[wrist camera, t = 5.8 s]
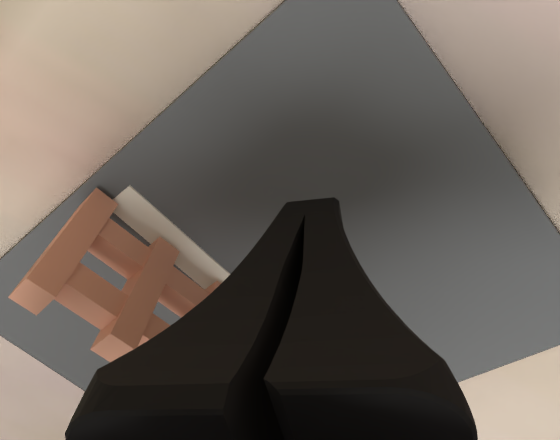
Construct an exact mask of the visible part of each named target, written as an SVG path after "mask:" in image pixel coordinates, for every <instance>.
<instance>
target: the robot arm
mask: <svg viewBox="0 0 560 440" xmlns="http://www.w3.org/2000/svg"><path fill="white" fill-rule="evenodd" d="M65 438H66V440H477V439H478V437H477V430H476V425H475V422H474V419H473V416H472V413H471V410H470V408H469V405H468V403H467V401H466V398H465V396H464V394H463V392H462V390H461V388H460V386H459V384H458V383H457V381H456V379H455V377H454V375H453V373H452V372H451V370H450V368H449V366H448V365H447V363H446V361H445V360H444V359H443V358H442V357H441V356H439V355H438V354H437V353H436V352H435V351H433V350H432V349H431V348H430V347H429V346H428V345H427V344H425V343H424V342H423V341H422V340H421V339H420V338H419V337H418V336H417V335H416V334H415V333H414V332H413V331H412V330H411V329H410V328H409V327H408V326H407V325H406V324H405V323H404V322H403V321H402V320H401V319H400V318H399V316H398V315H397V314H396V313H395V312H394V311H393V310H392V308H391V307H390V306H389V305H388V304H387V303H386V301H385V300H384V299H383V298H382V296H381V295H380V294H379V292H378V291H377V290H376V288H375V287H374V285H373V284H372V282H371V281H370V279H369V278H368V276H367V275H366V273H365V272H364V270H363V268H362V267H361V265H360V263H359V261H358V259H357V257H356V256H355V254H354V252H353V250H352V248H351V245H350V243H349V241H348V238H347V236H346V234H345V231H344V228H343V222H342V216H341V209H340V203H339V200H337V199H336V198H334V197H332V198H322V199H312V200H302V201H292V202H286V204H285V205H284V206H283V207H282V209H281V210H280V212H279V213H278V214H277V216H276V217H275V219H274V220H273V221H272V223H271V224H270V226H269V227H268V228H267V230H266V231H265V233H264V234H263V235H262V237H261V238H260V239H259V240H258V242H257V243H256V244H255V246H254V247H253V248H252V250H251V251H250V252H249V253H248V255H247V256H246V257H245V258H244V259H243V260H242V262H241V263H240V264H239V265H238V266H237V267H236V268H235V270H234V271H233V272H232V273H231V274H230V275H229V276H228V277H227V278H226V279H225V280H224V281H223V282H222V283H221V284H220V285H219V286H218V287H217V288H216V289H215V290H214V291H213V292H212V293H211V294H210V295H208V296H207V297H206V298H205V299H204V300H203V301H201V302H200V303H199V304H198V305H196V306H195V307H194V308H193V309H191V310H190V311H189V312H188V313H186V314H185V315H184V316H183V317H181V318H180V319H179V320H178V321H176V322H175V323H173V324H172V325H171V326H169V327H168V328H166V329H165V330H163V331H162V332H161V333H159V334H157V335H156V336H154V337H153V338H151V339H150V340H148V341H147V342H145V343H143V344H142V345H140V346H138V347H137V348H135V349H133V350H132V351H130V352H128V353H126V354H124V355H123V356H121V357H119V358H117V359H115V360H114V361H112V362H110V363H108V364H106V365H104V366H103V367H101V368H99V369H97V371H96V372H95V374H94V376H93V378H92V379H91V381H90V383H89V385H88V387H87V389H86V391H85V393H84V395H83V397H82V399H81V401H80V403H79V405H78V407H77V409H76V411H75V413H74V415H73V417H72V419H71V421H70V423H69V426H68V428H67V430H66V433H65Z"/></svg>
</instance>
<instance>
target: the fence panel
mask: <svg viewBox="0 0 560 440" xmlns="http://www.w3.org/2000/svg"><path fill="white" fill-rule="evenodd" d="M117 206H118V204H117V203H116V202H115V201H113V200H112V199H111V198H110V197H108V196H107V195H106V194H104V193H103V192H102V191H100V190H99V189H98V188H97V187H96V188H95V190H94V191H93V192H92V193H91V194H90V195H89V196H88V197H87V198H86V199H85V200H84V201H83V202H82V203H81V205H80V206H79V207H78V208H77V209H76V211H75V212H74V213H73V215H72V216H71V217H70V218H69V220H68V221H67V222H66V224H65V225H64V226H63V227H62V229H61V230H60V231H59V233H58V234H57V235H56V236H55V238H54V239H53V240H52V242H51V243H50V244H49V245H48V247H47V248H46V249H45V251H44V252H43V253H42V254H41V256H40V257H39V258H38V259H37V261H36V262H35V263H34V265H33V266H32V267H31V268H30V270H29V271H28V272H27V274H26V275H25V276H24V277H23V279H22V280H21V281H20V283H19V284H18V285H17V286H16V288H15V289H14V290H13V292H12V293H11V294H10V295H9V297H8V298H10V299H11V300H13V301H14V302H16V303H17V304H19V305H21V306H22V307H24V308H25V309H27V310H28V311H30V312H32V313H33V314H35V315H36V316H37V315H38V314H39V313H40V312H41V311H42V310H43V309H44V308H45V307H46V306H47V305H48V304H49V303H50V302H51V301H53V300H56V301H57V302H59V303H60V304H62V305H63V306H65V307H66V308H68V309H69V310H71V311H72V312H74V313H75V314H77V315H78V316H80V317H82V318H83V319H85V320H86V321H88V322H89V323H91V324H92V325H94V326H95V327H97V328H98V329H100V332H99V334H98V335H97V337H96V339H95V341H94V343H93V345H92V347H91V349H90V350H91V351H93V352H95V353H96V354H98V355H99V356H101V357H103V358H104V359H106V360H107V361H109V362H112V361H114V360H115V359H117V358H119V357H121V356H123V355H124V354H126V353H128V352H130V351H132V350H133V349H135V348H137V347H138V346H140V345H142V344H143V343H145V342H147V341H148V340H150V339H151V338H153V337H154V336H156V335H157V334H159V333H161V332H162V331H163V330H165V329H166V328H168V327H169V326H170V325H169V324H168V323H166V322H165V321H163V320H162V319H160V318H159V317H158V316H156V315H155V314H153V311H154V309H155V306H156V304H157V302H160V303H161V304H162V305H164V306H165V307H167V308H168V309H169V310H171V311H172V312H174V313H175V314H177V315H178V316H179V317H183V316H184V315H185V314H186V313H188V312H189V311H190V310H191V309H193V308H194V307H195V306H196V305H198V304H199V303H200V302H201V301H203V300H204V299H205V298H206V297H207V296H208V295H210V294H211V293H212V292H213V291H214V290H215V289H216V288H217V287H218V286H219V285H220V284H221V283H220V282H219V281H216V282H214V283H213V284H212V285H210V286H209V287H208V288H206V289H205V290H204V289H203V288H202V287H200V286H199V285H198V284H196V283H195V282H194V281H192V280H191V279H190V278H189V277H187V276H186V275H185V274H183V273H182V272H181V271H179V270H178V269H177V268H175V267H174V263H175V261H176V259H177V256H178V254H179V252H180V251H178V250H177V249H176V248H174V247H173V246H172V245H171V244H169V243H168V242H167V241H165V240H164V239H163V238H161V237H159V238H157V239H156V240H155V241H154V242H153V243H152V244H151V245H149V246H148V247H147V246H146V245H145V244H143V243H142V242H141V241H139V240H138V239H137V238H135V237H134V236H133V235H131V234H130V233H129V232H127V231H126V230H125V229H123V228H122V227H121V226H119V225H118V224H117V223H115V222H114V221H113V220H112V219H110V216H111V215H112V213H113V212H114V210H115V209H116V207H117ZM87 251H88V252H90V253H91V254H92V255H94V256H95V257H97V258H98V259H99V260H101V261H102V262H104V263H105V264H106V265H108V266H109V267H111V268H112V269H113V270H115V271H116V272H118V273H119V274H120V275H122V276H123V277H125V278H126V279H127V281H126V283H125V285H124V287H123V289H122V290H121V291H120V290H119V289H118V288H116V287H115V286H113V285H112V284H110V283H109V282H108V281H106V280H105V279H103V278H102V277H100V276H99V275H98V274H96V273H95V272H93V271H92V270H90V269H89V268H88V267H86V266H85V265H83V264H82V263H80V261H81V259H82V258H83V256H84V255H85V253H86V252H87Z"/></svg>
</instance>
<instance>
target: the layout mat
mask: <svg viewBox="0 0 560 440" xmlns="http://www.w3.org/2000/svg"><path fill="white" fill-rule="evenodd" d="M96 187H97V188H98V189H99V190H100V191H102V192H103V193H104V194H106V195H107V196H108V197H110V198H111V199H112V200H113V201H115V202H116V203H117V204H118V206H117V207H116V209H115V210H114V212H113V213H112V215H111V216H110V219H112V220H113V221H114V222H115V223H117V224H118V225H119V226H121V227H122V228H123V229H125V230H126V231H127V232H129V233H130V234H131V235H133V236H134V237H135V238H137V239H138V240H139V241H141V242H142V243H143V244H145V245H146V246H147V247H148V246H149V245H151V244H152V243H153V242H154V241H155V240H156V239H157V238H159V237H161V238H163V239H164V240H165V241H167V242H168V243H169V244H171V245H172V246H173V247H174V248H176V249H177V250H178V251H180V252H179V254H178V256H177V259H176V261H175V263H174V267H175V268H177V269H178V270H179V271H181V272H182V273H183V274H185V275H186V276H187V277H189V278H190V279H191V280H192V281H194V282H195V283H196V284H198V285H199V286H200V287H202V288H203V289H204V290H205V289H206V288H208V287H209V286H210V285H212V284H213V283H214V282H216V281H219V282H220V283H222V282H223V281H224V280H225V279H226V278H227V277H228V276H229V275H230V274H231V273H232V272H233V271H234V270H235V268H236V267H237V266H238V265H239V264H240V263H241V262H242V260H243V259H244V258H245V257H246V256H247V255H248V253H249V252H250V251H251V250H252V248H253V247H254V246H255V244H256V243H257V242H258V240H259V239H260V238H261V237H262V235H263V234H264V233H265V231H266V230H267V228H268V227H269V226H270V224H271V223H272V221H273V220H274V219H275V217H276V216H277V214H278V213H279V212H280V210H281V209H282V207H283V206H284V205H285V204H286V202H292V201H302V200H312V199H322V198H332V197H334V198H336V199H337V200H339V203H340V209H341V216H342V222H343V228H344V231H345V234H346V236H347V238H348V241H349V243H350V245H351V248H352V250H353V252H354V254H355V256H356V257H357V259H358V261H359V263H360V265H361V267H362V268H363V270H364V272H365V273H366V275H367V276H368V278H369V279H370V281H371V282H372V284H373V285H374V287H375V288H376V290H377V291H378V292H379V294H380V295H381V296H382V298H383V299H384V300H385V301H386V303H387V304H388V305H389V306H390V307H391V308H392V310H393V311H394V312H395V313H396V314H397V315H398V316H399V318H400V319H401V320H402V321H403V322H404V323H405V324H406V325H407V326H408V327H409V328H410V329H411V330H412V331H413V332H414V333H415V334H416V335H417V336H418V337H419V338H420V339H421V340H422V341H423V342H424V343H425V344H427V345H428V346H429V347H430V348H431V349H432V350H433V351H435V352H436V353H437V354H438V355H439V356H441V357H442V358H443V359H444V360H445V361H446V363H447V365H448V366H449V368H450V370H451V372H452V373H453V375H454V377H455V379H456V381H457V383H458V382H460V381H463V380H466V379H469V378H471V377H474V376H477V375H479V374H482V373H485V372H488V371H490V370H493V369H496V368H499V367H501V366H504V365H507V364H509V363H512V362H515V361H518V360H520V359H523V358H526V357H528V356H531V355H534V354H537V353H539V352H542V351H545V350H548V349H550V348H553V347H556V346H558V345H560V233H559V232H558V230H557V229H556V228H555V226H554V225H553V223H552V222H551V220H550V219H549V218H548V216H547V215H546V213H545V212H544V210H543V209H542V207H541V206H540V205H539V203H538V202H537V200H536V199H535V197H534V196H533V195H532V193H531V192H530V190H529V189H528V187H527V186H526V184H525V183H524V182H523V180H522V179H521V177H520V176H519V174H518V173H517V172H516V170H515V169H514V167H513V166H512V164H511V163H510V162H509V160H508V159H507V157H506V156H505V154H504V153H503V151H502V150H501V149H500V147H499V146H498V144H497V143H496V141H495V140H494V139H493V137H492V136H491V134H490V133H489V131H488V130H487V129H486V127H485V126H484V124H483V123H482V121H481V120H480V118H479V117H478V116H477V114H476V113H475V111H474V110H473V108H472V107H471V106H470V104H469V103H468V101H467V100H466V98H465V97H464V95H463V94H462V93H461V91H460V90H459V88H458V87H457V85H456V84H455V83H454V81H453V80H452V78H451V77H450V75H449V74H448V73H447V71H446V70H445V68H444V67H443V65H442V64H441V62H440V61H439V60H438V58H437V57H436V55H435V54H434V52H433V51H432V50H431V48H430V47H429V45H428V44H427V42H426V41H425V40H424V38H423V37H422V35H421V34H420V32H419V31H418V29H417V28H416V27H415V25H414V24H413V22H412V21H411V19H410V18H409V17H408V15H407V14H406V12H405V11H404V9H403V8H402V6H401V5H400V4H399V2H398V1H397V0H285V1H284V2H282V3H281V4H280V5H279V6H278V7H277V8H276V9H275V10H274V11H273V12H271V13H270V14H269V15H268V16H267V17H266V18H265V19H264V20H263V21H262V22H260V23H259V24H258V25H257V26H256V27H255V28H254V29H253V30H252V31H251V32H249V33H248V34H247V35H246V36H245V37H244V38H243V39H242V40H241V41H240V42H238V43H237V44H236V45H235V46H234V47H233V48H232V49H231V50H230V51H229V52H227V53H226V54H225V55H224V56H223V57H222V58H221V59H220V60H219V61H218V62H216V63H215V64H214V65H213V66H212V67H211V68H210V69H209V70H208V71H207V72H205V73H204V74H203V75H202V76H201V77H200V78H199V79H198V80H197V81H196V82H194V83H193V84H192V85H191V86H190V87H189V88H188V89H187V90H186V91H185V92H183V93H182V94H181V95H180V96H179V97H178V98H177V99H176V100H175V101H174V102H172V103H171V104H170V105H169V106H168V107H167V108H166V109H165V110H164V111H163V112H161V113H160V114H159V115H158V116H157V117H156V118H155V119H154V120H153V121H152V122H150V123H149V124H148V125H147V126H146V127H145V128H144V129H143V130H142V131H141V132H139V133H138V134H137V135H136V136H135V137H134V138H133V139H132V140H131V141H130V142H128V143H127V144H126V145H125V146H124V147H123V148H122V149H121V150H120V151H119V152H117V153H116V154H115V155H114V156H113V157H112V158H111V159H110V160H109V161H108V162H106V163H105V164H104V165H103V166H102V167H101V168H100V169H99V170H98V171H97V172H95V173H94V174H93V175H92V176H91V177H90V178H89V179H88V180H87V181H86V182H84V183H83V184H82V185H81V186H80V187H79V188H78V189H77V190H76V191H75V192H73V193H72V194H71V195H70V196H69V197H68V198H67V199H66V200H65V201H64V202H62V203H61V204H60V205H59V206H58V207H57V208H56V209H55V210H54V211H53V212H51V213H50V214H49V215H48V216H47V217H46V218H45V219H44V220H43V221H42V222H40V223H39V224H38V225H37V226H36V227H35V228H34V229H33V230H32V231H31V232H29V233H28V234H27V235H26V236H25V237H24V238H23V239H22V240H21V241H20V242H18V243H17V244H16V245H15V246H14V247H13V248H12V249H11V250H10V251H9V252H7V253H6V254H5V255H4V256H3V257H2V258H1V259H0V336H2V337H3V338H5V339H6V340H8V341H9V342H11V343H12V344H14V345H15V346H17V347H19V348H20V349H22V350H23V351H25V352H26V353H28V354H29V355H31V356H32V357H34V358H35V359H37V360H38V361H40V362H41V363H43V364H44V365H46V366H47V367H49V368H50V369H52V370H54V371H55V372H57V373H58V374H60V375H61V376H63V377H64V378H66V379H67V380H69V381H70V382H72V383H73V384H75V385H76V386H78V387H79V388H81V389H82V390H84V391H86V389H87V387H88V385H89V383H90V381H91V379H92V378H93V376H94V374H95V372H96V371H97V369H99V368H101V367H103V366H104V365H106V364H108V363H110V362H109V361H107V360H106V359H104V358H103V357H101V356H99V355H98V354H96V353H95V352H93V351H91V350H90V349H91V347H92V345H93V343H94V341H95V339H96V337H97V335H98V334H99V332H100V329H98V328H97V327H95V326H94V325H92V324H91V323H89V322H88V321H86V320H85V319H83V318H82V317H80V316H78V315H77V314H75V313H74V312H72V311H71V310H69V309H68V308H66V307H65V306H63V305H62V304H60V303H59V302H57V301H56V300H53V301H51V302H50V303H49V304H48V305H47V306H46V307H45V308H44V309H43V310H42V311H41V312H40V313H39V314H38V315H37V316H36V315H35V314H33V313H32V312H30V311H28V310H27V309H25V308H24V307H22V306H21V305H19V304H17V303H16V302H14V301H13V300H11V299H10V298H8V297H9V295H10V294H11V293H12V292H13V290H14V289H15V288H16V286H17V285H18V284H19V283H20V281H21V280H22V279H23V277H24V276H25V275H26V274H27V272H28V271H29V270H30V268H31V267H32V266H33V265H34V263H35V262H36V261H37V259H38V258H39V257H40V256H41V254H42V253H43V252H44V251H45V249H46V248H47V247H48V245H49V244H50V243H51V242H52V240H53V239H54V238H55V236H56V235H57V234H58V233H59V231H60V230H61V229H62V227H63V226H64V225H65V224H66V222H67V221H68V220H69V218H70V217H71V216H72V215H73V213H74V212H75V211H76V209H77V208H78V207H79V206H80V205H81V203H82V202H83V201H84V200H85V199H86V198H87V197H88V196H89V195H90V194H91V193H92V192H93V191H94V190H95V188H96ZM80 263H82V264H83V265H85V266H86V267H88V268H89V269H90V270H92V271H93V272H95V273H96V274H98V275H99V276H100V277H102V278H103V279H105V280H106V281H108V282H109V283H110V284H112V285H113V286H115V287H116V288H118V289H119V290H120V291H121V290H122V289H123V287H124V285H125V283H126V281H127V279H126V278H125V277H123V276H122V275H120V274H119V273H118V272H116V271H115V270H113V269H112V268H111V267H109V266H108V265H106V264H105V263H104V262H102V261H101V260H99V259H98V258H97V257H95V256H94V255H92V254H91V253H90V252H88V251H87V252H86V253H85V255H84V256H83V258H82V259H81V261H80ZM153 314H155V315H156V316H158V317H159V318H160V319H162V320H163V321H165V322H166V323H168V324H169V325H170V326H171V325H172V324H173V323H175V322H176V321H178V320H179V319H180V318H181V317H179V316H178V315H177V314H175V313H174V312H172V311H171V310H169V309H168V308H167V307H165V306H164V305H162V304H161V303H160V302H157V304H156V306H155V309H154V311H153Z"/></svg>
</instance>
